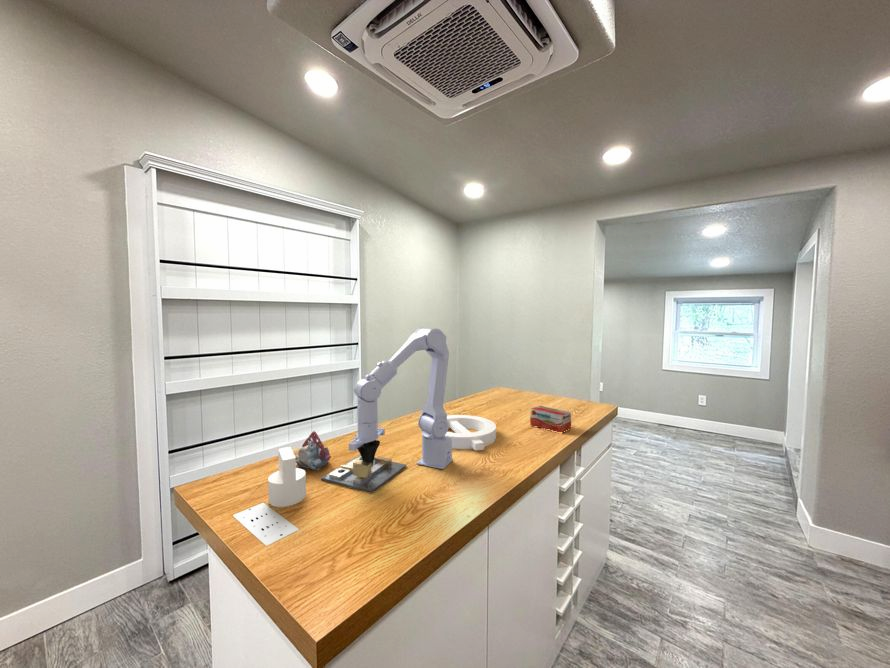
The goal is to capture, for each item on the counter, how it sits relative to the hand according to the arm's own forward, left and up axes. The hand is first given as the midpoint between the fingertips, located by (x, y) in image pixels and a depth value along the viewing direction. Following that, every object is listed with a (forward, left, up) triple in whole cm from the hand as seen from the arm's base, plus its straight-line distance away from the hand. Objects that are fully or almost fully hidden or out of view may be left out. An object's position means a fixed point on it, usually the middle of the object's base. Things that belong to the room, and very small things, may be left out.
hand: (368, 466), depth 102 cm
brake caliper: (+22, 0, -4) cm, 22 cm away
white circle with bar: (-11, -46, -4) cm, 47 cm away
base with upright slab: (+13, +17, -4) cm, 22 cm away
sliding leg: (+3, +3, -2) cm, 4 cm away
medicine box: (-42, -71, -4) cm, 83 cm away
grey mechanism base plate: (+3, -3, -4) cm, 6 cm away
